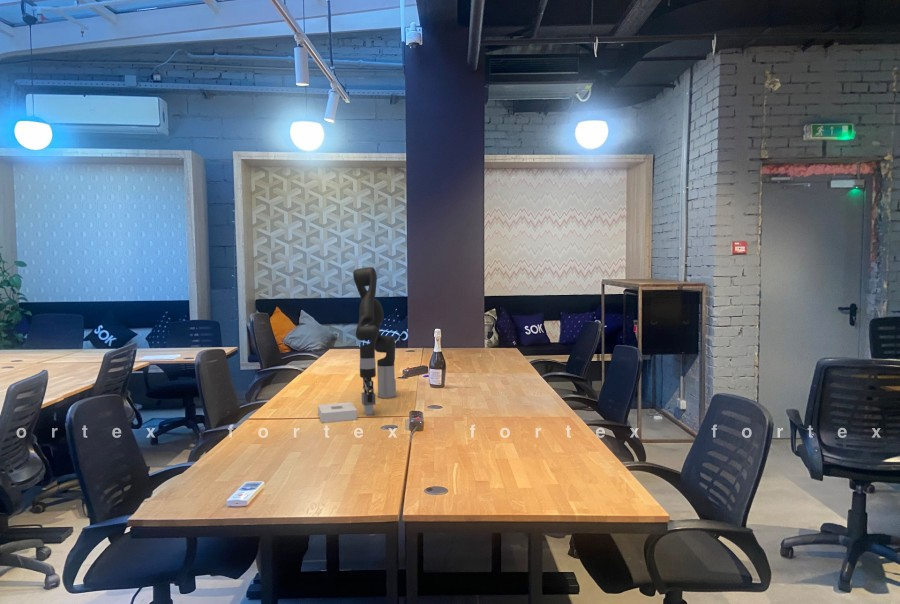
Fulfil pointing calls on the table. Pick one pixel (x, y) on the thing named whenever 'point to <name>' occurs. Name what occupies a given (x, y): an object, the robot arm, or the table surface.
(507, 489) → the table surface
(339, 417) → the socket block
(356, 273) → the robot arm
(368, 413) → the plug
